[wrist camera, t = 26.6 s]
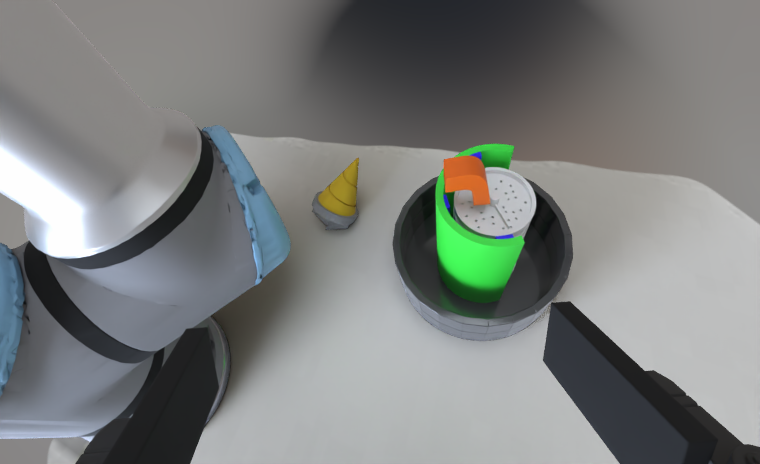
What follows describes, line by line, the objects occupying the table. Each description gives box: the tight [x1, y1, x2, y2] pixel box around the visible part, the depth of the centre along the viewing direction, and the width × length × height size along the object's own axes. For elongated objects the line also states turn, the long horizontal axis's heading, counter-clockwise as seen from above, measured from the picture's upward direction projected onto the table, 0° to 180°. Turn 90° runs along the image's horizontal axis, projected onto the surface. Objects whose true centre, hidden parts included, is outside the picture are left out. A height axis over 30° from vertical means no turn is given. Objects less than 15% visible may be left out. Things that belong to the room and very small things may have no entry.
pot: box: [393, 176, 573, 341], centre depth 41 cm, size 16×16×6 cm
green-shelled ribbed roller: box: [436, 144, 536, 303], centre depth 35 cm, size 9×8×18 cm
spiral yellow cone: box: [312, 158, 359, 230], centre depth 46 cm, size 5×5×10 cm
